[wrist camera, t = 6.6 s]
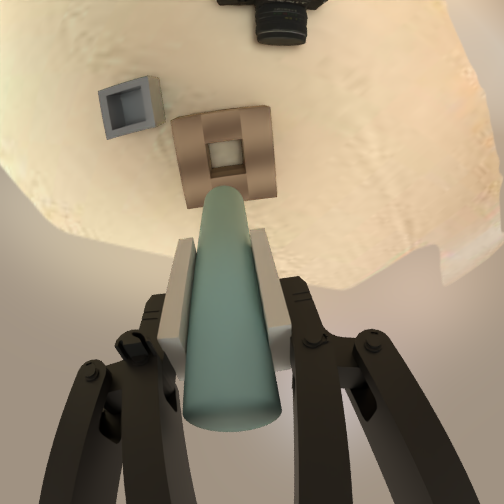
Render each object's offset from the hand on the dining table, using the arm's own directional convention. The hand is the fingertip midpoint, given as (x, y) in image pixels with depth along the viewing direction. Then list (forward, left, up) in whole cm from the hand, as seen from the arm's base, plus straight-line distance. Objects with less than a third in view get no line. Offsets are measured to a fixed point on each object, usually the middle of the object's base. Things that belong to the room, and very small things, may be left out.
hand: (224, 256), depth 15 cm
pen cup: (-9, -11, -27) cm, 30 cm away
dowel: (0, 0, -7) cm, 7 cm away
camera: (-20, +8, -27) cm, 35 cm away
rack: (0, 0, -27) cm, 27 cm away
